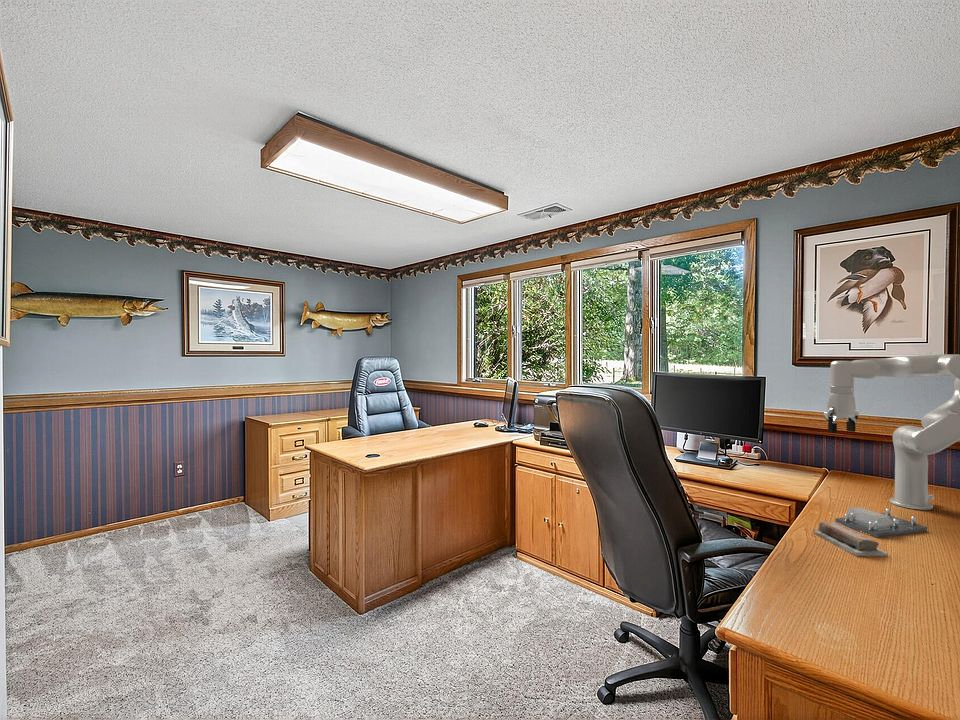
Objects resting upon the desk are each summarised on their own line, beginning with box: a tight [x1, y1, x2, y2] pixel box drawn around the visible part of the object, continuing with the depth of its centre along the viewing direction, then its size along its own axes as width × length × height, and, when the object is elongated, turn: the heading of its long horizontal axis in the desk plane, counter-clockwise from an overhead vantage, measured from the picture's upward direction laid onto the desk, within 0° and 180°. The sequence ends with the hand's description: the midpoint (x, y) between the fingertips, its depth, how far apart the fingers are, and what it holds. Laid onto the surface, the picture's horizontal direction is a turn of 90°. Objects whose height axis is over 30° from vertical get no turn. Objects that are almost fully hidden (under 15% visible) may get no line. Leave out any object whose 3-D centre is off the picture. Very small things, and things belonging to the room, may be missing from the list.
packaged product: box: [813, 521, 889, 557], centre depth 146 cm, size 18×5×10 cm
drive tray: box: [834, 508, 928, 539], centre depth 159 cm, size 22×14×4 cm, turn 103°
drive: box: [846, 506, 890, 530], centre depth 158 cm, size 6×10×4 cm, turn 14°
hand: (841, 431), depth 188 cm, fingers open, 9 cm apart
